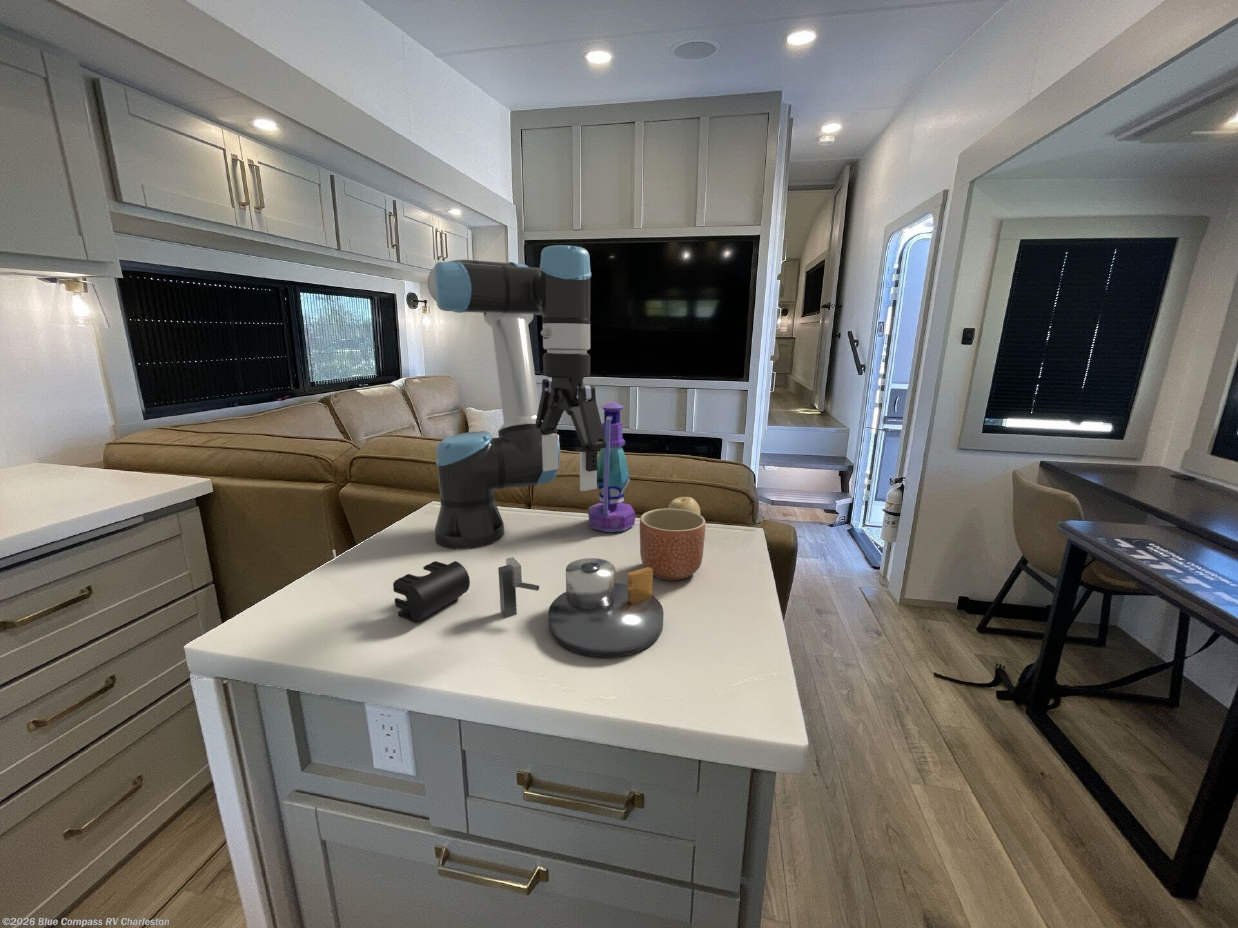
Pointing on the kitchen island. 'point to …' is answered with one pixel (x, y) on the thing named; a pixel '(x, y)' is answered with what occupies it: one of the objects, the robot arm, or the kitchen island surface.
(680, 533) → the planter
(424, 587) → the end cap
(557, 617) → the turntable
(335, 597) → the kitchen island surface
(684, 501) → the apple
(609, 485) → the lantern
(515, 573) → the gray post with pin
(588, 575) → the cover
